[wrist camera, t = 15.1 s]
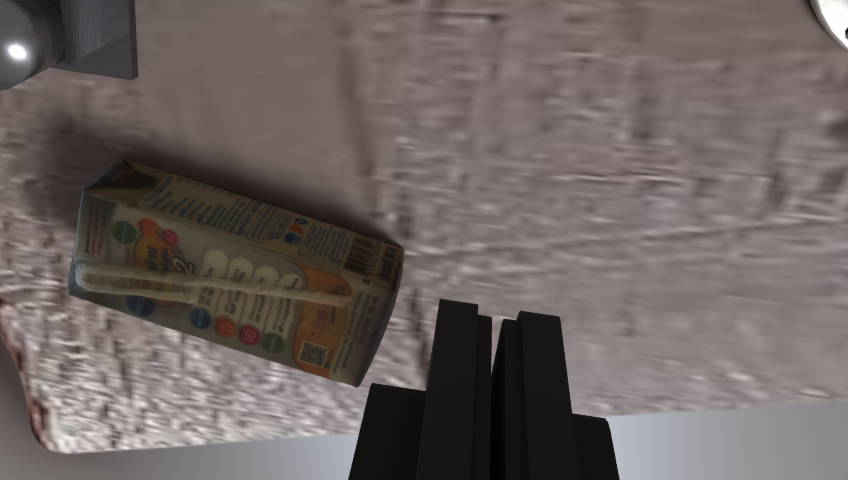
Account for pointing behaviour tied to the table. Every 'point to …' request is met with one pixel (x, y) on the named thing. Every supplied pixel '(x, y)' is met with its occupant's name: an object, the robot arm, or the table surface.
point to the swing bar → (28, 39)
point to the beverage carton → (234, 271)
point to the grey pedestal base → (99, 37)
